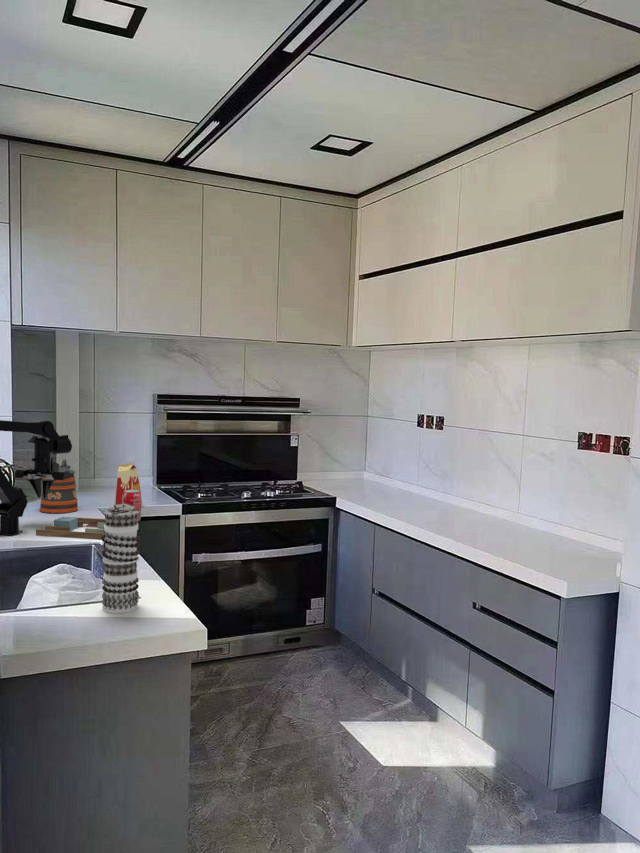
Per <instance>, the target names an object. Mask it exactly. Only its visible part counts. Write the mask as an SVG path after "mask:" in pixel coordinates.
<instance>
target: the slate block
mask: <svg viewBox="0 0 640 853" xmlns="http://www.w3.org/2000/svg"><path fill="white" fill-rule="evenodd" d="M71 517H72V516H61V517H59V518H55V519H54V520H53V526H61V527H70V531H75V530H77V529H78V528H79V527H78V518H79V517H77V518H71ZM74 529H75V530H74Z"/></svg>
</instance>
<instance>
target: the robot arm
mask: <svg viewBox="0 0 640 853" xmlns="http://www.w3.org/2000/svg"><path fill="white" fill-rule="evenodd" d="M0 432H12V433H13V432H15V433H26V434H29V435H33V436H32V437H31V438H30V439H29V440H28V441H27V442H28V443H30V444H33V458H31V462H33V468H18V469H15V471H14V473H13V476H14V479H15V478H17V479H23V478H24V477H27V478H26V481H28V482H29V483H30V485H31V487H32V488H33V490H34V492H35V494H36V496H37V498H39V499H41V498H42V493H43V496H44V498H46V497H47V495H48V492H49V489H50V487H51V485H52V483H53V482H54V481H55V480H65V479H69V478H70V472H69V471H66V470H59V466H60V463H58V462H55V461H54V458H53V456H52V454H53V455H58V454H70V453H71V451H72V448H73V445H72V441H71V440H70V438H69V434H62V435H59V433H58V432H57V430H56V429H55V426H54V423H53V422H52V421H50V420H45V419H35V420H34V419H33V420H28V421H16V420H15V421H14V420H5V419H4V420H3V419H1V420H0ZM38 436H39V437H38ZM43 477H46V479H45V480H43ZM42 485H43V488H42ZM28 503H29V502H28V496H27V495H26V494H25V493H24V490H23V489H22V488H21V487H17V486H13V485H12V484H11V482H10V481H9V479H8V477H7V476H6V475H5V473H4V471H3V469H1V467H0V535H1V536H15V535H19V534H20V533H23V530H22V529H21V530H20V528H19V527H20V525H19V524H20V518H21V517H23V516H24V513H25V512H24V511H25V509H26V508H27V505H28Z"/></svg>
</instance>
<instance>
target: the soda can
mask: <svg viewBox="0 0 640 853" xmlns="http://www.w3.org/2000/svg"><path fill="white" fill-rule="evenodd" d="M141 496H142V493H141V494H140V492H139V490H125V491H124V494H123V496H122V504H130V505H133V506H134V507H135V509H136V510H138V511H139V512H138V514H137V517H138V519H137V523H138V522H140V521H141V517H142V508H141Z"/></svg>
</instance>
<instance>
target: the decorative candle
mask: <svg viewBox="0 0 640 853" xmlns="http://www.w3.org/2000/svg"><path fill="white" fill-rule="evenodd" d="M138 512H139V511H138V510H136V509H135V507H134V506H133V505H130V504H115V503H114V504H112V505H111V504H110V506H109V507H108V508H107V510H105V511H104V519H105V524H104V528H103V530H101V533H102V535H103V536H102V537H101V538H102V539H100V540H101V541H102V542H103V544H102V545H101V549H102V551H101V556H103V558H102V562H103V563H104V572H103V579H102V584H103V585H102V591H103V592H102V593H101V597H102V600H101V605H102V607H101V608H102V611H103V612H105V613H109V614H123V613H130V612H134V611H136V610H137V609H138V608H139V604H138V603H139V591H138V589H139V582H140V581H139V577H138V573H139V572H138V571H139V570H137V567H138V564H137V563H138V561H139V560H140V558H139V556H138V555H140V554H141V551H140V550H138V547H140V546H141V543H140V542H139V541H140V540H141V539H142V537H141V536H139V535H137V534H138V533H141V532H142V529H141V528H140V527H139V523H138V522H137V519H138V517H137V514H138Z"/></svg>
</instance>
